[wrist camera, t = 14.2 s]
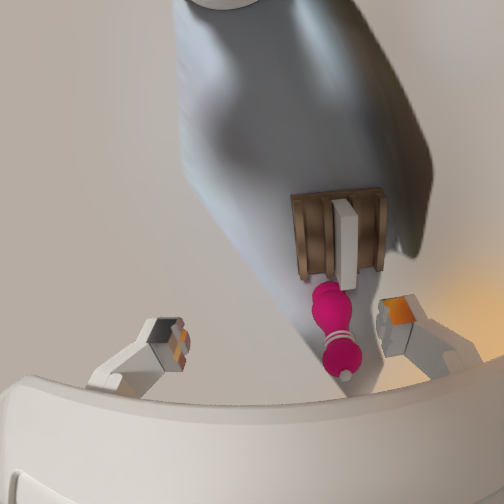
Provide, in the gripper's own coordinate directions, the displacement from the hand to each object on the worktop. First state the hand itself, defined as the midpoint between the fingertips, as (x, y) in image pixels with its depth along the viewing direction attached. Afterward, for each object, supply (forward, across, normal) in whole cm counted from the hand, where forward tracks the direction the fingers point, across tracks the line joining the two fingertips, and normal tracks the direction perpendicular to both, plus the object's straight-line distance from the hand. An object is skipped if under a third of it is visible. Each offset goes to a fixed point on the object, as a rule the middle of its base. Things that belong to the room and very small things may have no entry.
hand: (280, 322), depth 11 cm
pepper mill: (+34, -7, +26) cm, 44 cm away
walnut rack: (+34, -9, +13) cm, 38 cm away
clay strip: (+33, -9, +13) cm, 36 cm away
